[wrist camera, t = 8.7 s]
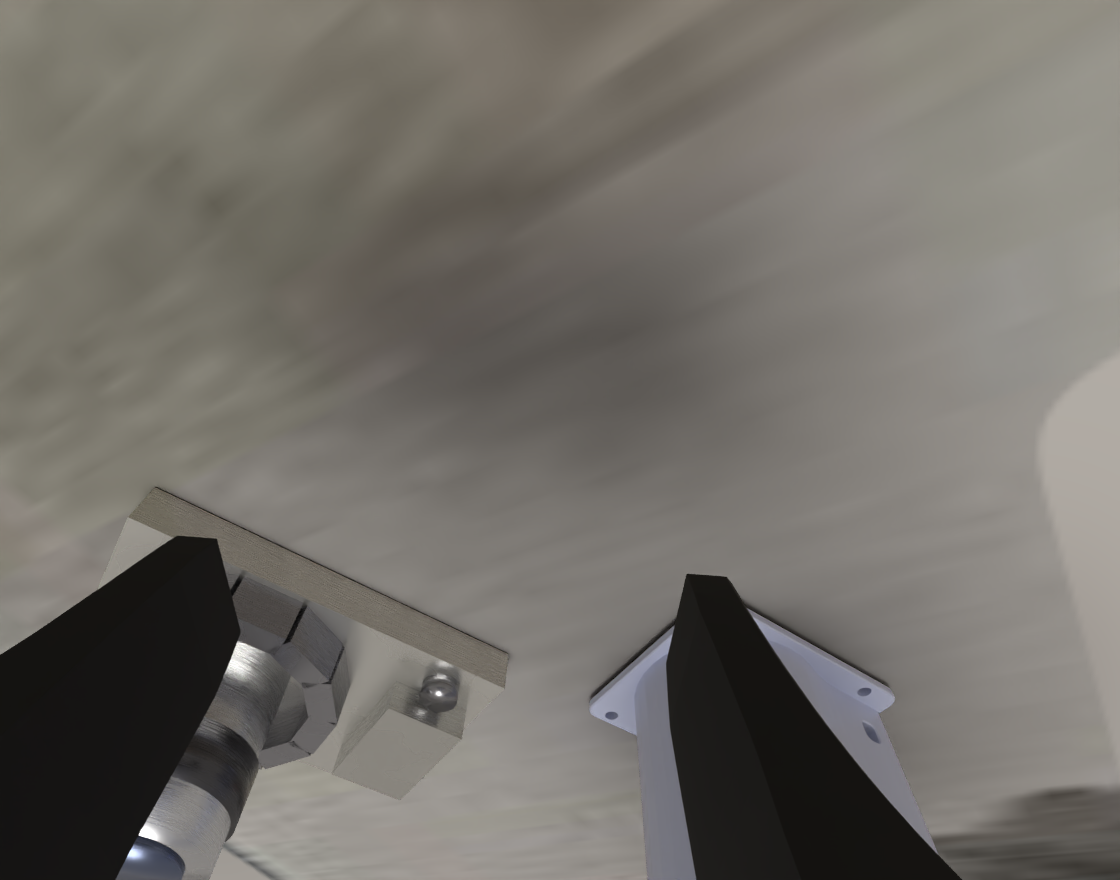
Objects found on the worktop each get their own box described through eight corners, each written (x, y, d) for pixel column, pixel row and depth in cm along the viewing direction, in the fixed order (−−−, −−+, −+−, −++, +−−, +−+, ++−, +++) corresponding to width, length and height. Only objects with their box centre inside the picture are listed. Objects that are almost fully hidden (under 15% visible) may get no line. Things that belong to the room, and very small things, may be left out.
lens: (305, 699, 26) (226, 912, 20) (180, 691, 26) (62, 904, 20) (290, 614, 23) (194, 829, 17) (151, 604, 23) (5, 819, 17)
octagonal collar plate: (508, 654, 27) (499, 727, 24) (404, 763, 31) (386, 835, 28) (155, 487, 23) (97, 551, 20) (89, 637, 27) (33, 707, 24)
